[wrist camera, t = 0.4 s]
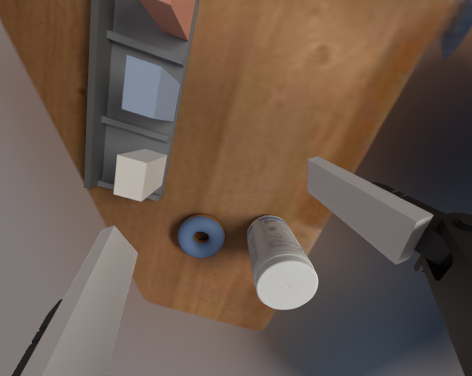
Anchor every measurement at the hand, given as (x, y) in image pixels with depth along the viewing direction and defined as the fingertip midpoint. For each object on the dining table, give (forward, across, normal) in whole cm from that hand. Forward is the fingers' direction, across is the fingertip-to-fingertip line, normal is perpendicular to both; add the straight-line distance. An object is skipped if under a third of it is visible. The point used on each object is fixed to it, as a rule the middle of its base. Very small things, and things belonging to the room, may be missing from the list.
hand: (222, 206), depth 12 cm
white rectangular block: (+24, -10, -4) cm, 26 cm away
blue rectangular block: (+25, -3, +6) cm, 26 cm away
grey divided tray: (+28, -6, +8) cm, 29 cm away
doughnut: (+21, -6, -20) cm, 30 cm away
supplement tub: (+17, +8, -24) cm, 30 cm away
